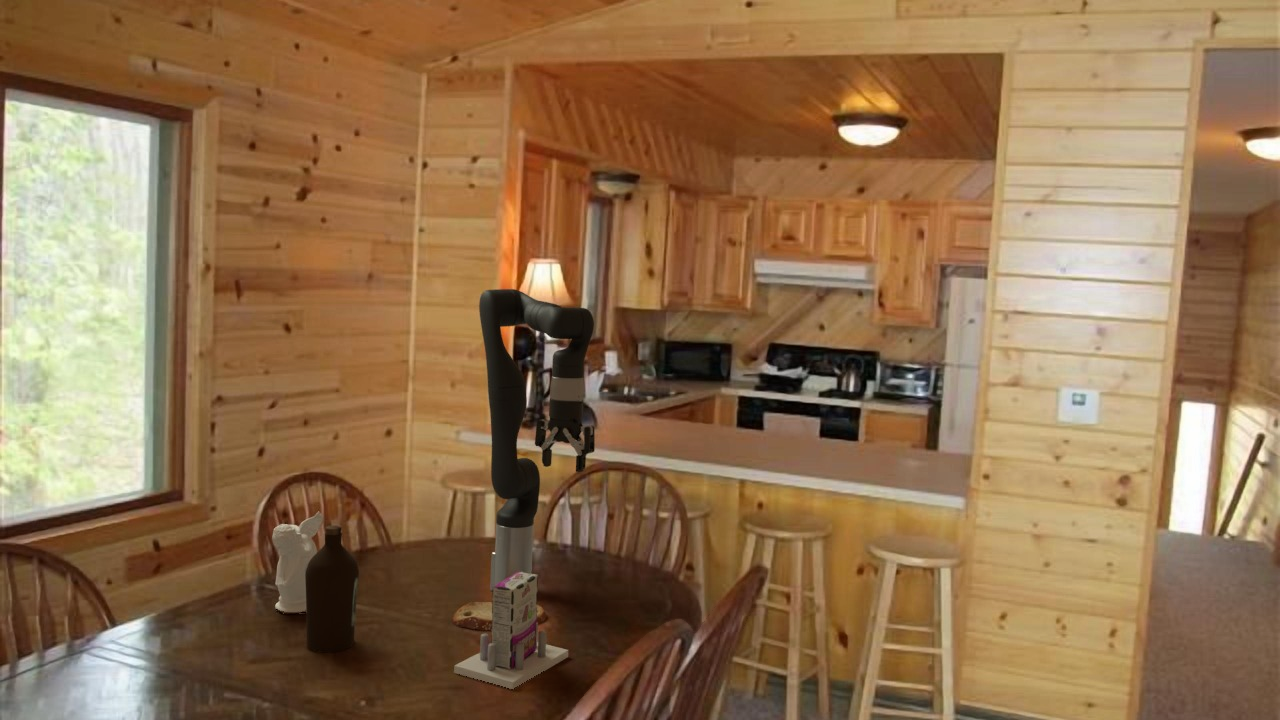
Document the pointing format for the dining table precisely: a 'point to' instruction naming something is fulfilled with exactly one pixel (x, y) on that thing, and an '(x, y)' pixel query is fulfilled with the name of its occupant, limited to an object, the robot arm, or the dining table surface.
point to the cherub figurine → (294, 561)
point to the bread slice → (482, 616)
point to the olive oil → (331, 595)
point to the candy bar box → (514, 617)
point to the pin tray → (511, 674)
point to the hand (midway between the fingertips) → (563, 468)
